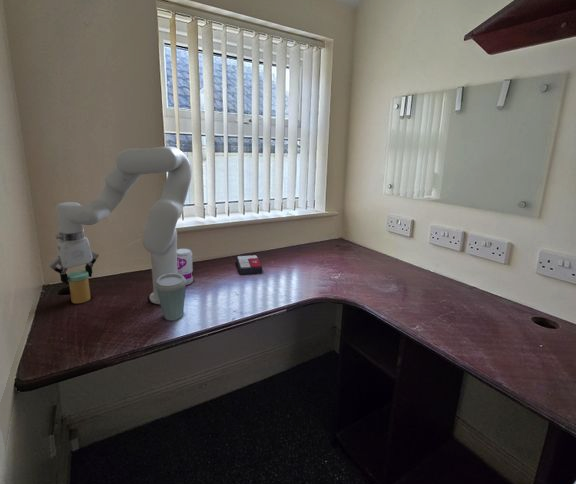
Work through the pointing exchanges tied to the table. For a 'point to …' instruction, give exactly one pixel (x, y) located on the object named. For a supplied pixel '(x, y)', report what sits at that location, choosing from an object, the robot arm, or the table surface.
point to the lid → (78, 276)
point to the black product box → (249, 264)
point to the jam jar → (79, 291)
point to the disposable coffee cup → (171, 294)
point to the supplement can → (185, 264)
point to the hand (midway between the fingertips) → (77, 279)
